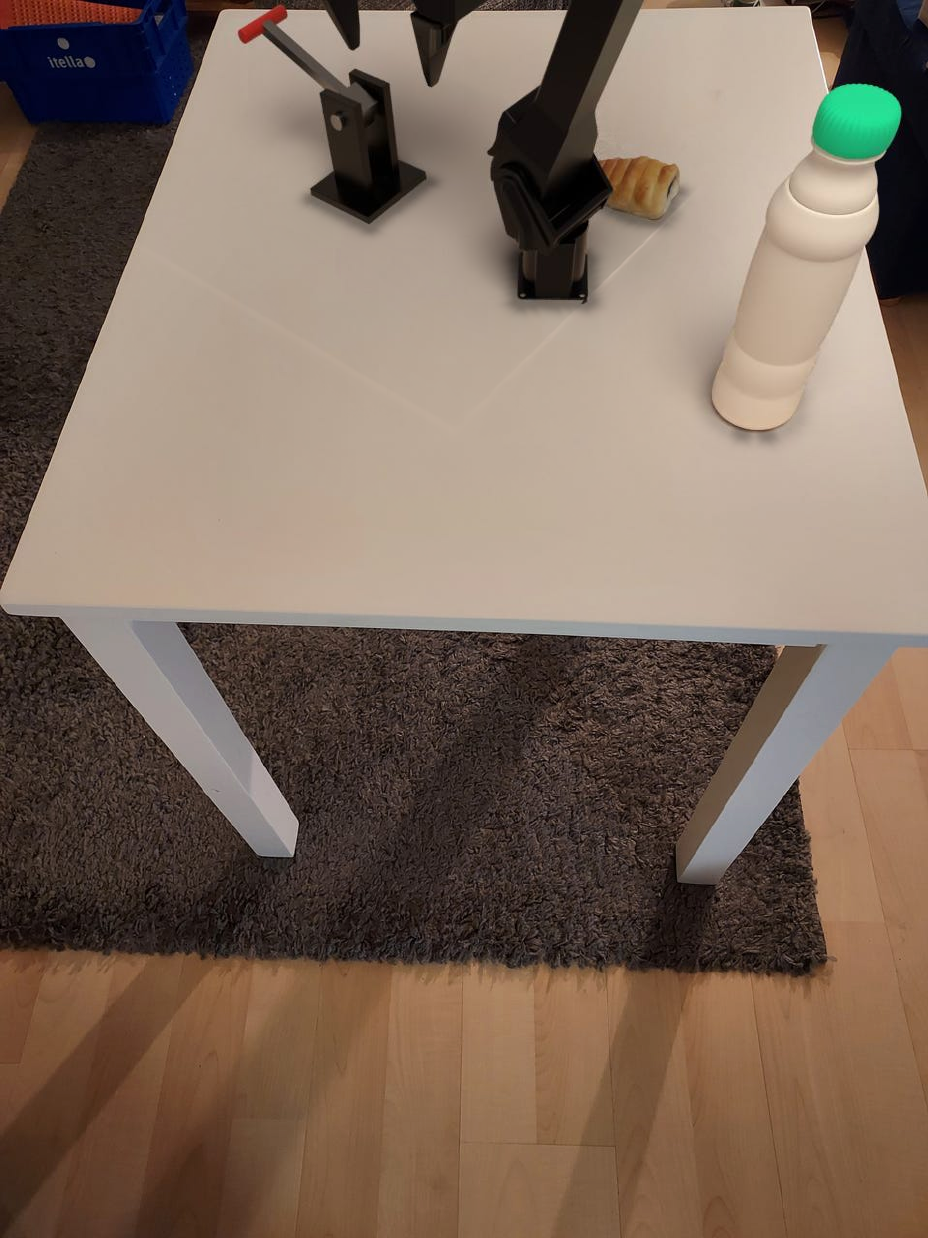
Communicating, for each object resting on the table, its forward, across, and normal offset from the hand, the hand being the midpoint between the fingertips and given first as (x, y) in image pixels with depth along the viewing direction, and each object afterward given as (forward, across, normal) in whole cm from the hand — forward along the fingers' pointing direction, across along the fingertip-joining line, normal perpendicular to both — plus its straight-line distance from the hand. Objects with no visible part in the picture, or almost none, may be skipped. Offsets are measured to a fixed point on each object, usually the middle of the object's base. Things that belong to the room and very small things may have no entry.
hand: (393, 65), depth 74 cm
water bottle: (+12, -42, +3) cm, 43 cm away
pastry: (+13, -19, -14) cm, 27 cm away
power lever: (+4, +10, +1) cm, 11 cm away
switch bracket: (+13, +4, +1) cm, 14 cm away
